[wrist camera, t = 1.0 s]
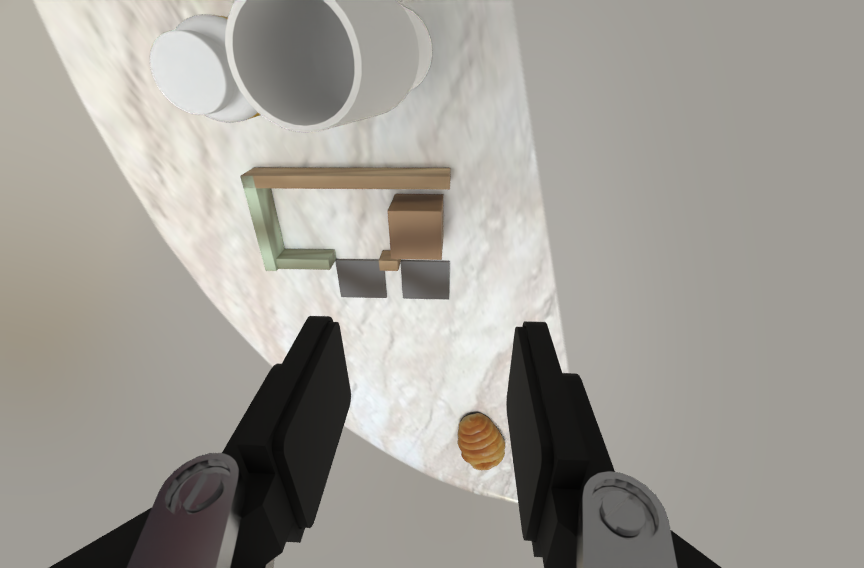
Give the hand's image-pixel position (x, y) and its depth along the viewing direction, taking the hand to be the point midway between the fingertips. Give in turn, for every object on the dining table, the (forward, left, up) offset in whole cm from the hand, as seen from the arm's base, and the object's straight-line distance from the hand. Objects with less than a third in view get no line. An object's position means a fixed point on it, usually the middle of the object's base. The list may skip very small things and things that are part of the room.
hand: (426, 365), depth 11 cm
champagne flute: (-7, -5, -32) cm, 33 cm away
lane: (+11, -10, -31) cm, 35 cm away
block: (+8, -3, -31) cm, 33 cm away
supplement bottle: (-6, -16, -32) cm, 36 cm away
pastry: (+43, +5, -32) cm, 54 cm away
